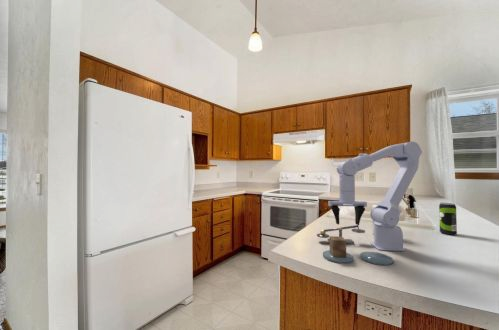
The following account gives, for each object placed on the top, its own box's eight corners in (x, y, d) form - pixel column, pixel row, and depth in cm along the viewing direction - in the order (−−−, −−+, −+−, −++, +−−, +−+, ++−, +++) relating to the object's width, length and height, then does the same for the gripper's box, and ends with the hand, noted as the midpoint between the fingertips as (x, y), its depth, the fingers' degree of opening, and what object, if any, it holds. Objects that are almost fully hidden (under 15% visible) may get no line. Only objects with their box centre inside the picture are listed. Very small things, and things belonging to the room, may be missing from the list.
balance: (362, 241, 96) (362, 223, 96) (367, 245, 90) (367, 226, 91) (315, 239, 98) (315, 222, 98) (318, 243, 93) (318, 225, 93)
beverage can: (455, 233, 108) (454, 203, 109) (458, 236, 103) (457, 204, 103) (438, 231, 112) (438, 202, 112) (441, 234, 106) (440, 203, 107)
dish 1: (347, 252, 82) (347, 250, 82) (357, 264, 72) (357, 261, 72) (320, 251, 83) (320, 249, 83) (326, 262, 73) (326, 260, 74)
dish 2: (383, 254, 81) (383, 252, 81) (399, 266, 71) (399, 263, 71) (355, 253, 82) (355, 251, 82) (366, 264, 72) (366, 262, 72)
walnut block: (342, 253, 80) (342, 236, 80) (346, 257, 75) (346, 240, 76) (329, 252, 80) (329, 236, 81) (332, 257, 76) (332, 240, 76)
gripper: (331, 191, 85) (331, 226, 85) (370, 191, 84) (370, 227, 83) (326, 189, 92) (327, 221, 92) (362, 190, 91) (363, 222, 90)
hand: (347, 224), depth 88 cm, fingers open, 7 cm apart
